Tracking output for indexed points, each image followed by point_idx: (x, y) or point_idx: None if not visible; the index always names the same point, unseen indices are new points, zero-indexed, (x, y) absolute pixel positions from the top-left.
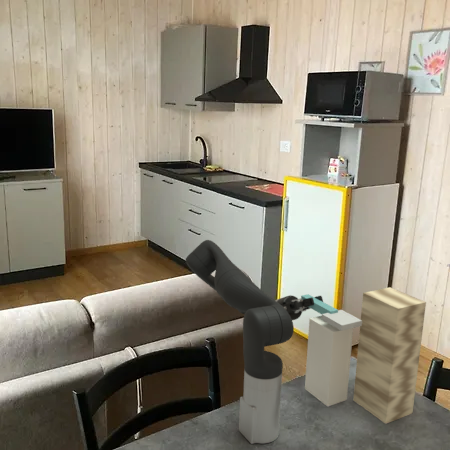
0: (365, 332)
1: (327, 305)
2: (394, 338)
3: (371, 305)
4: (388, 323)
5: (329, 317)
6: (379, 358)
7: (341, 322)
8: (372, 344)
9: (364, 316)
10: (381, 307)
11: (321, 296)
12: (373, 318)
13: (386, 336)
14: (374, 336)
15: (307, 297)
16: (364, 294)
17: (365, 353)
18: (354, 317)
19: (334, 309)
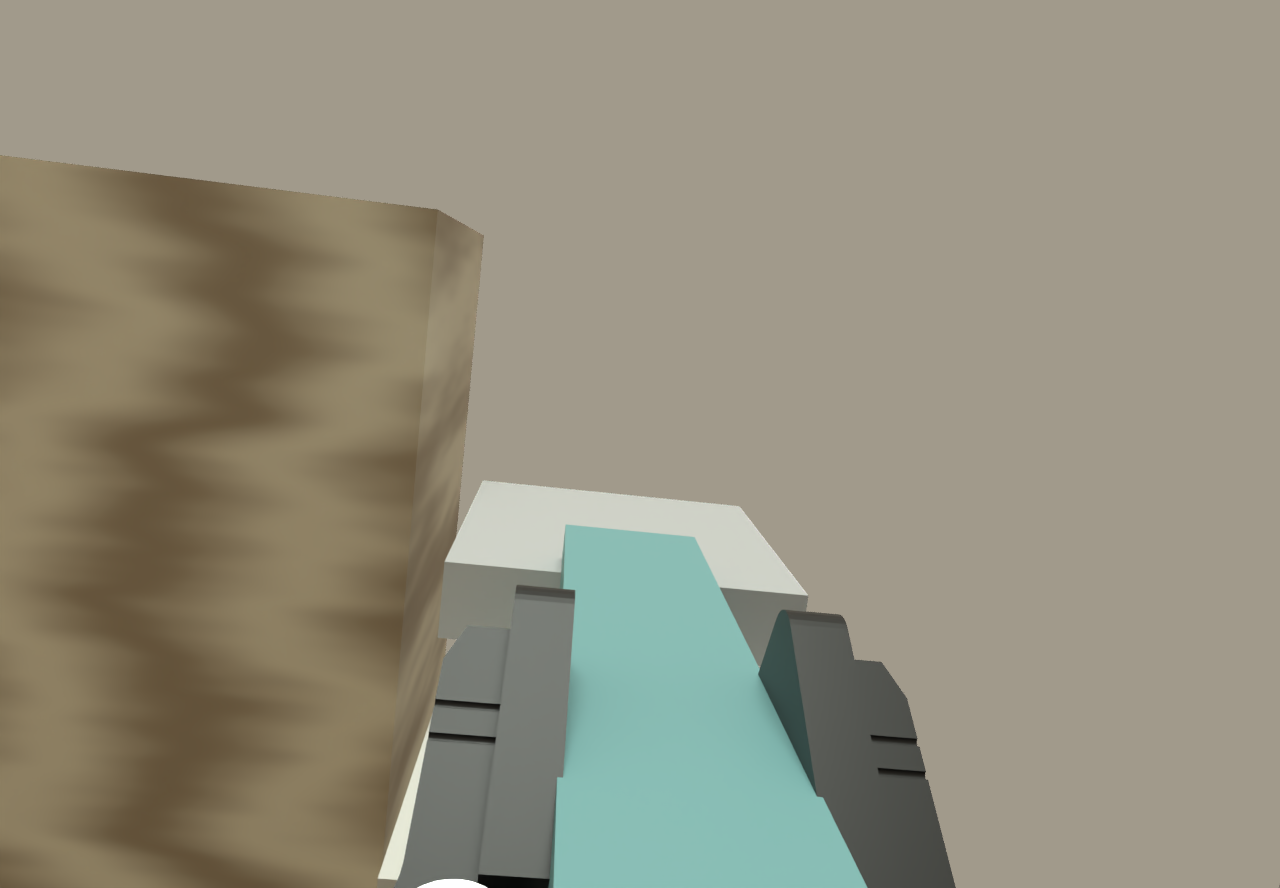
0: (416, 605)
1: (597, 582)
2: (463, 455)
3: (446, 306)
4: (464, 378)
5: (762, 556)
6: (428, 692)
7: (705, 514)
8: (425, 645)
9: (423, 459)
10: (463, 280)
11: (522, 587)
12: (440, 417)
13: (453, 484)
14: (433, 563)
15: (765, 832)
16: (438, 222)
17: (403, 788)
18: (491, 501)
19: (601, 535)
